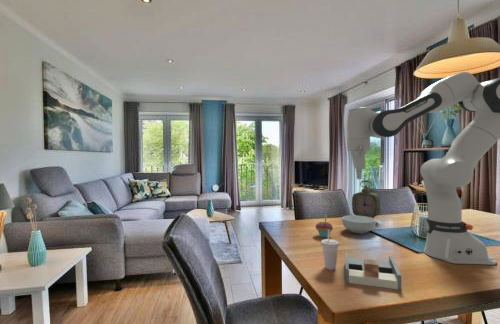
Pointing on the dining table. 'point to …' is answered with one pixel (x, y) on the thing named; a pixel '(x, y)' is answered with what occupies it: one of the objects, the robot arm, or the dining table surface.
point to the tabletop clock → (366, 203)
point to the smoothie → (330, 252)
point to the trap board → (387, 277)
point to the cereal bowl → (358, 223)
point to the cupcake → (324, 228)
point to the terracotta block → (371, 268)
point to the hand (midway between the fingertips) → (359, 179)
